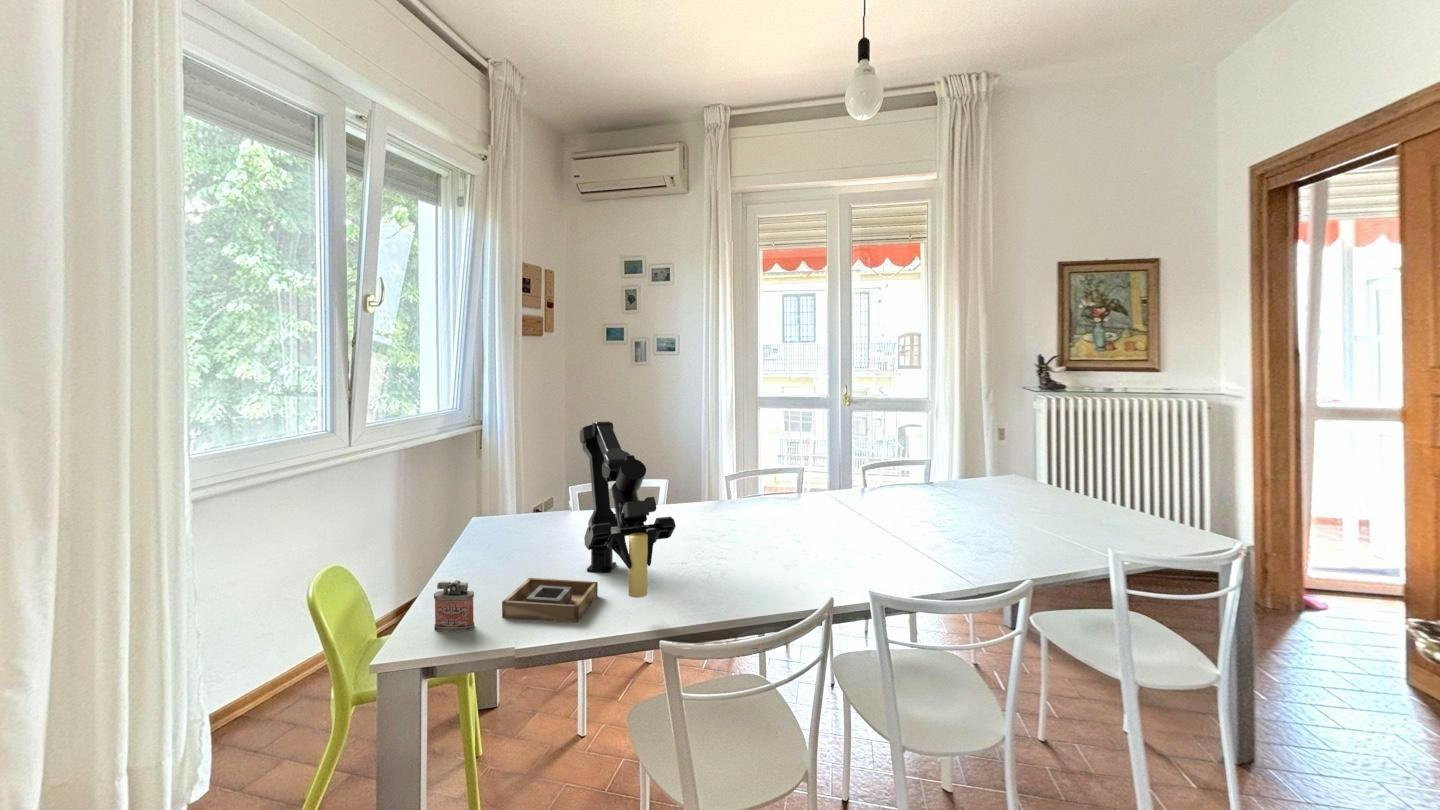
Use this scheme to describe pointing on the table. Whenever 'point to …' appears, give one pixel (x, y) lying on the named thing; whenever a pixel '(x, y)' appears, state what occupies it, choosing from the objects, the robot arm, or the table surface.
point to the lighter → (453, 607)
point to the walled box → (550, 600)
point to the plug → (638, 564)
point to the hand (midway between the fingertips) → (639, 566)
